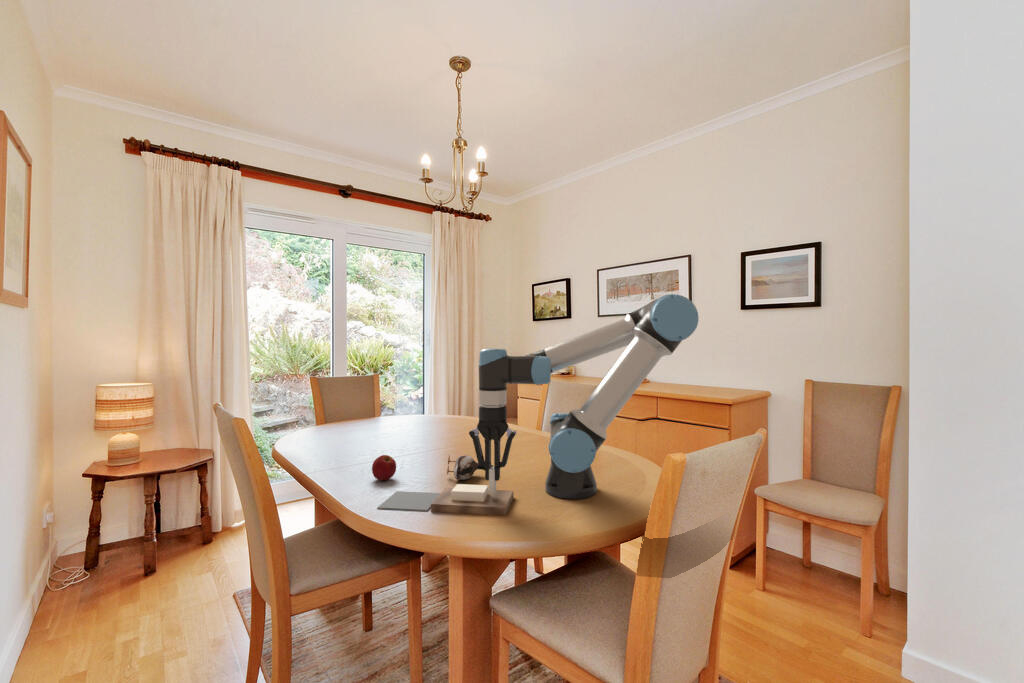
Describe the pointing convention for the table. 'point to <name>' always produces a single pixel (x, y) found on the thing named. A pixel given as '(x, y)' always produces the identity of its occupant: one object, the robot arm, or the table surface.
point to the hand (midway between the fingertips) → (492, 491)
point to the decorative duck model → (464, 467)
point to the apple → (384, 467)
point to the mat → (409, 501)
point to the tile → (469, 492)
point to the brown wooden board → (474, 503)
